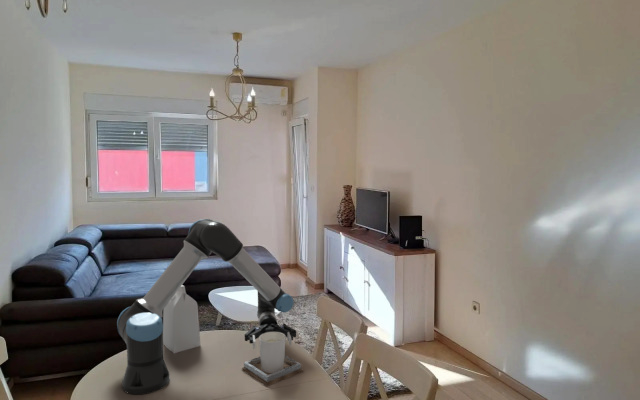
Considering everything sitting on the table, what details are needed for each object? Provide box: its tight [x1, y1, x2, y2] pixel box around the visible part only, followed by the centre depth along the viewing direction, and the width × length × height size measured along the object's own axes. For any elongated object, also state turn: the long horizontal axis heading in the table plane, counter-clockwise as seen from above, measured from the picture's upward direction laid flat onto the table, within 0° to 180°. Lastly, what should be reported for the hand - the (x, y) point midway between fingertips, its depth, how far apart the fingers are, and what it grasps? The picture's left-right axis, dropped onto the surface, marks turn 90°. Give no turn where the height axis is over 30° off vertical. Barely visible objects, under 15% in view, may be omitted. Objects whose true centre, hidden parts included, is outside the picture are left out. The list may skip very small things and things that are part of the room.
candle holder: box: [258, 332, 287, 373], centre depth 156 cm, size 10×10×12 cm
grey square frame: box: [243, 354, 302, 383], centre depth 156 cm, size 15×15×2 cm
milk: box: [162, 284, 201, 354], centre depth 179 cm, size 12×12×26 cm
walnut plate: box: [241, 362, 304, 387], centre depth 156 cm, size 16×16×1 cm
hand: (272, 343), depth 158 cm, fingers open, 13 cm apart
